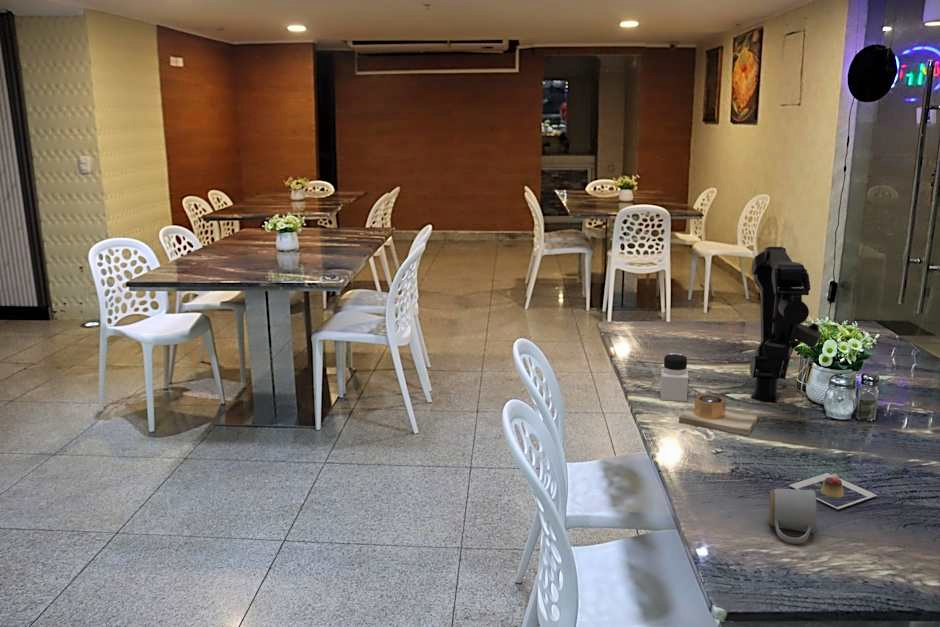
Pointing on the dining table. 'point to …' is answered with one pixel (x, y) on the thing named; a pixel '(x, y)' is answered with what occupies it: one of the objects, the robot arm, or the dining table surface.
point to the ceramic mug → (793, 512)
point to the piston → (710, 399)
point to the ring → (710, 407)
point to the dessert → (833, 488)
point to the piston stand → (722, 421)
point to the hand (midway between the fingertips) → (780, 373)
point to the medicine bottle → (674, 378)
